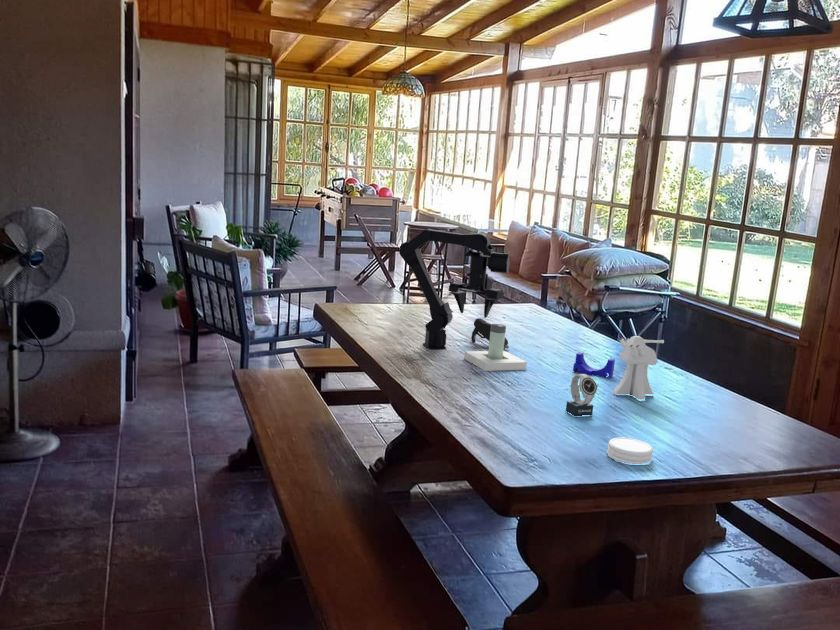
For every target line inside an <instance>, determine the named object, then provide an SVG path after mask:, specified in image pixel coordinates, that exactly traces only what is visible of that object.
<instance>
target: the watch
mask: <svg viewBox="0 0 840 630" xmlns="http://www.w3.org/2000/svg"><path fill="white" fill-rule="evenodd" d="M569 386H570V387H569V388H570V395H571V398H572V400H567V401H566V406H565V412H566V411H567V412H569V413H571V414H572V415H574V416H582V415H592V416H593V412H594V405H593V404H592V403H591V402H592V401H593V399H594V398H595V395H596V392H597V391H598V385H597V382H596V381H595V380H594V379H593V378H592V377H591V376H590V375H587V374H581V373H577V374H574V375H573V377H572V378H571V382H570V385H569ZM580 392H581V393H580ZM580 394H581V395H582V397H583V400H582V399H581V395H580Z"/></svg>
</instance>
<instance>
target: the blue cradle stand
mask: <svg viewBox="0 0 840 630" xmlns="http://www.w3.org/2000/svg"><path fill="white" fill-rule="evenodd" d="M615 362H616V359H615V358H611V357H610V358H609V359H607V361H606V365H605V366H603V368H594V367H591V366H590V365H589V364H587V362H586V360H585V357H584V352H577V353H576V355H575V361H574V363H573V366H572V367H573V369H572V372H573V371H574V372H573V373H576V372H578V373H577V374H581V373H582V374H588V376H590V375H591V376H592V374H593V376H596V375H599V376H598V377H601V376H604V377H603V378H606V376H607V375H609V376H608V377H609V378H608V379H612V376H613V375H614V370H615V369H614V368H615ZM613 377H614V376H613Z"/></svg>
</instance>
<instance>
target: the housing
mask: <svg viewBox="0 0 840 630" xmlns="http://www.w3.org/2000/svg"><path fill="white" fill-rule="evenodd" d="M463 359H464V360H465V361H467V362H469V363H471V364H472V363H473V365H474V366H476V367H478V368H479V369H481V370H483V371H485V372H488V371H489V372H490V371H491V372H492V371H494V372H495V371H516V370H517V371H521V370H522V371H523V370H524V371H525V370H526V371H527V364H528V362H527V361H526V360H524V359H522V358H519V357H517V356H516V355H514V354H512V353H509V352H508V351H506V350H503V359H495V360H491V359H489V358H488V350H475V351H474V350H473V351H472V350H471V351H468V350H467V351H464V357H463Z"/></svg>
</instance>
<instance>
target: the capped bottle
mask: <svg viewBox="0 0 840 630" xmlns="http://www.w3.org/2000/svg"><path fill="white" fill-rule="evenodd" d="M490 324H491V330H490V340H489V341H488V350H487V351H488V358H489V359H491V360H495V359H503V351H505V349H504V341H505V338H506V331H507V330H506V329H507V325H504V324H501V323H490Z"/></svg>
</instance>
